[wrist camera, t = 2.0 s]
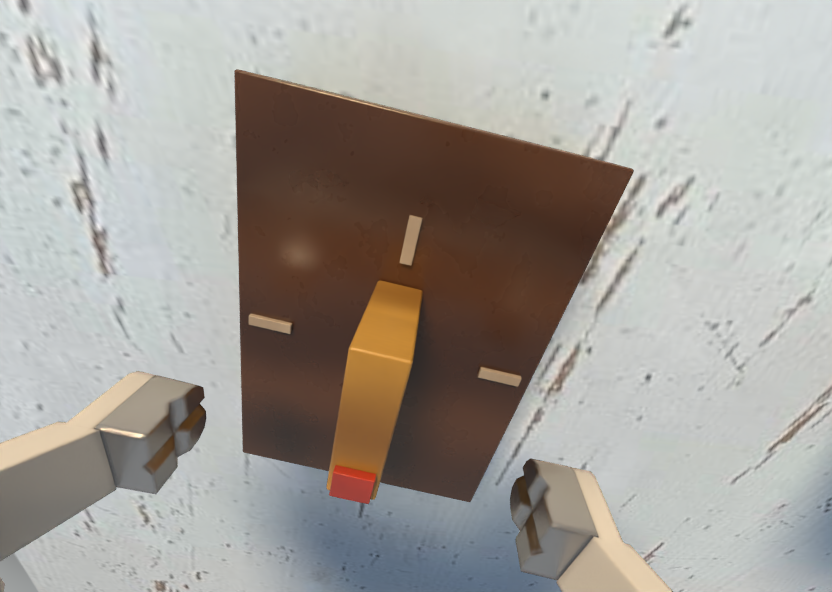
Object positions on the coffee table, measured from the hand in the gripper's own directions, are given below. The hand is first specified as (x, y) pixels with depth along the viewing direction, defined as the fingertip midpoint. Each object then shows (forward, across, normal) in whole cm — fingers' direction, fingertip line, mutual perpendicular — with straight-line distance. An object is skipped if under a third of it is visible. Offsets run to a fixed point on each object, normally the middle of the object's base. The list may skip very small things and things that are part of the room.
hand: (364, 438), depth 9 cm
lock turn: (+3, 0, 0) cm, 3 cm away
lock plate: (+6, 0, 0) cm, 6 cm away
